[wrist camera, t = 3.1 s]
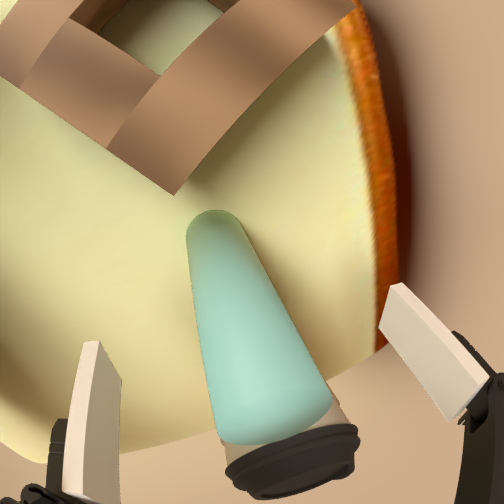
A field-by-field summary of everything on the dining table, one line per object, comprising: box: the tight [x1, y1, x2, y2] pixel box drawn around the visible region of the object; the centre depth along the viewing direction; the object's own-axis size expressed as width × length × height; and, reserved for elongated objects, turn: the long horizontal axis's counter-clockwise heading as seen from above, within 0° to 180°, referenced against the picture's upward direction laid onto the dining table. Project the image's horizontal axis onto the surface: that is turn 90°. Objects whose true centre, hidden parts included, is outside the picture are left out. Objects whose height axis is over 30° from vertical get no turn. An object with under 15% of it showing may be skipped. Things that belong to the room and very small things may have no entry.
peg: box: [186, 210, 332, 446], centre depth 14 cm, size 4×4×14 cm
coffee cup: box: [220, 375, 360, 500], centre depth 19 cm, size 9×9×15 cm
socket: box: [0, 0, 356, 196], centre depth 10 cm, size 14×14×5 cm
